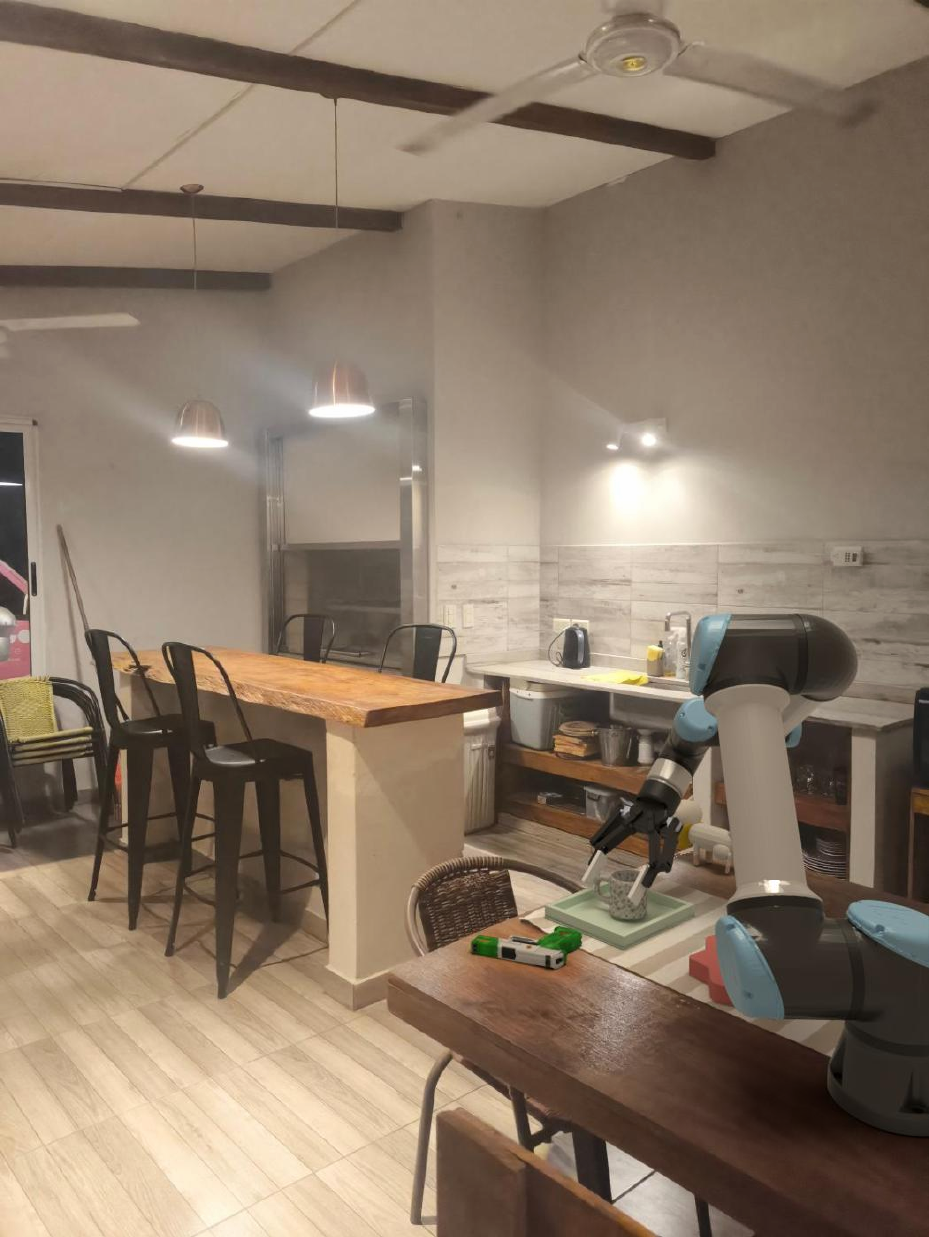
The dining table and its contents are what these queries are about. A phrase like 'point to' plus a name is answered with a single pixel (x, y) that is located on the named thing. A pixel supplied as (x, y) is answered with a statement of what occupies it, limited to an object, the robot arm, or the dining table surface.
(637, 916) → the mug
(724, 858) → the toy
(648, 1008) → the dining table surface
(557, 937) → the handgun
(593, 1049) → the dining table surface
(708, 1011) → the dining table surface
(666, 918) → the tray
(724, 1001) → the plaque
